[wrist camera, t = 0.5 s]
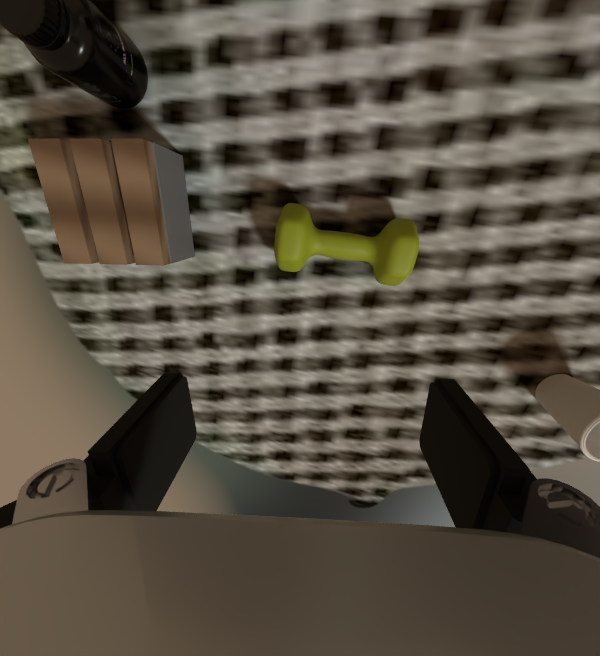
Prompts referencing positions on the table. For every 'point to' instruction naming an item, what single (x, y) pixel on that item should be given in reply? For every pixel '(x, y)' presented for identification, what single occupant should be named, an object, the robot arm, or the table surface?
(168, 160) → the dock
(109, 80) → the supplement bottle
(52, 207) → the pallet
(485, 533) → the robot arm
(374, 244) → the dumbbell
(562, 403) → the dixie cup
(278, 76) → the table surface
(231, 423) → the table surface
